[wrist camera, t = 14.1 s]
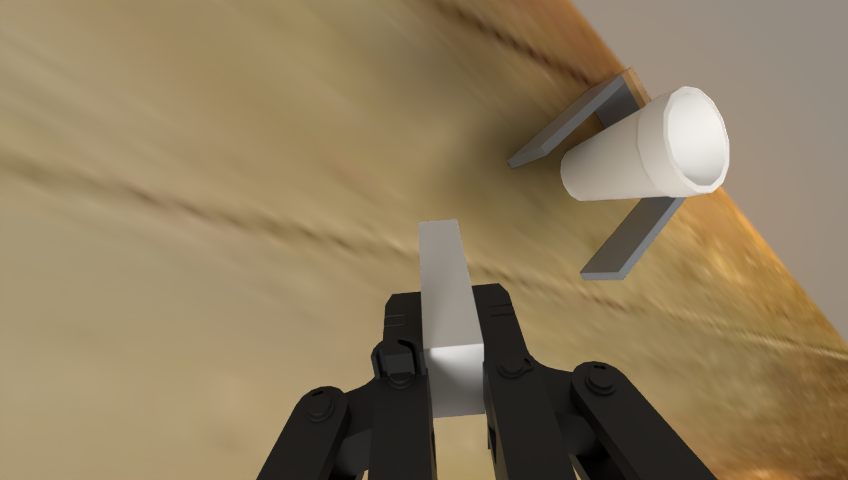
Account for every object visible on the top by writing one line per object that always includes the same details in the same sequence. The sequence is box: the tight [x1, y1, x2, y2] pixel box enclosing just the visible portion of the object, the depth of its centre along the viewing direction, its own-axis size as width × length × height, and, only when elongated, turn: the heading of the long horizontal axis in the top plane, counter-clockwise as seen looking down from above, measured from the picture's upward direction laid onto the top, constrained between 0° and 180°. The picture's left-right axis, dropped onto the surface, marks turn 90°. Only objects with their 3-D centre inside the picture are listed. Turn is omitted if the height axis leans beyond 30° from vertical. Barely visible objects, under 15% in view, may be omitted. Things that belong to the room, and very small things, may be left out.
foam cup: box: [560, 86, 729, 201], centre depth 42 cm, size 10×9×13 cm
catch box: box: [507, 67, 686, 280], centre depth 45 cm, size 16×16×6 cm
